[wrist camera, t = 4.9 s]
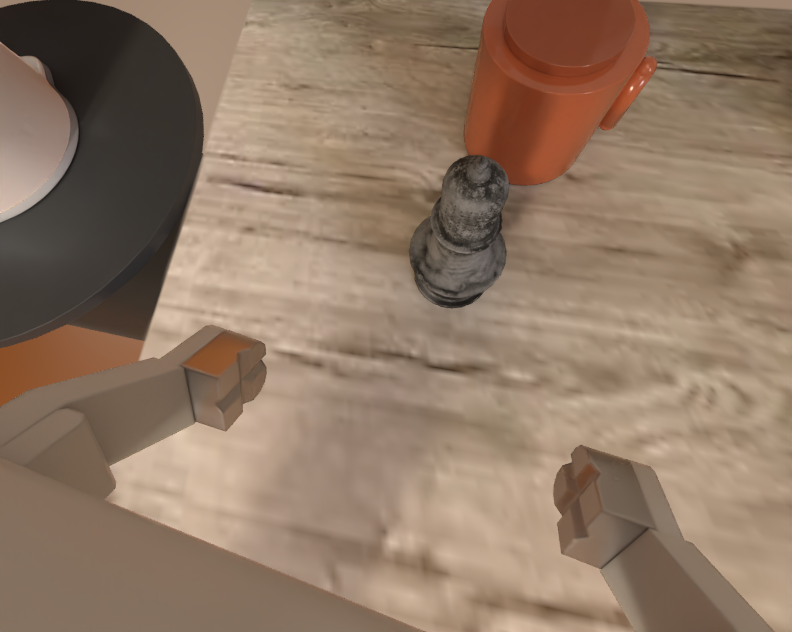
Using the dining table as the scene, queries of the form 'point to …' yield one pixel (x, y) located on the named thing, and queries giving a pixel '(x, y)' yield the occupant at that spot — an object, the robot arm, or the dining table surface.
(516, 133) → the coffee cup
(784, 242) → the dining table surface
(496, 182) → the grey chess piece
